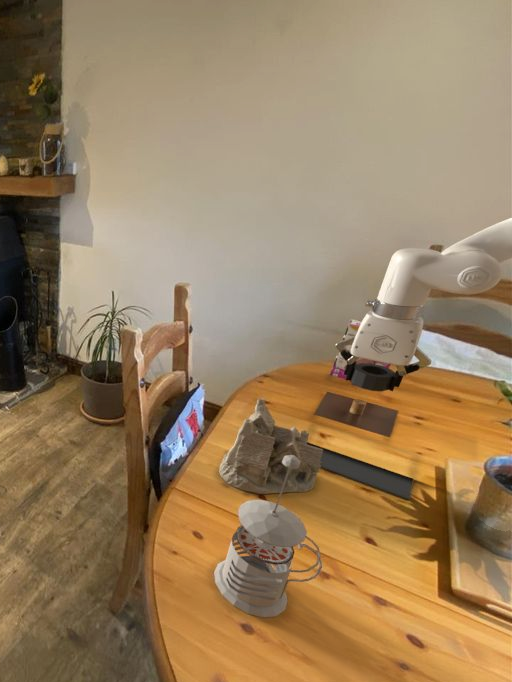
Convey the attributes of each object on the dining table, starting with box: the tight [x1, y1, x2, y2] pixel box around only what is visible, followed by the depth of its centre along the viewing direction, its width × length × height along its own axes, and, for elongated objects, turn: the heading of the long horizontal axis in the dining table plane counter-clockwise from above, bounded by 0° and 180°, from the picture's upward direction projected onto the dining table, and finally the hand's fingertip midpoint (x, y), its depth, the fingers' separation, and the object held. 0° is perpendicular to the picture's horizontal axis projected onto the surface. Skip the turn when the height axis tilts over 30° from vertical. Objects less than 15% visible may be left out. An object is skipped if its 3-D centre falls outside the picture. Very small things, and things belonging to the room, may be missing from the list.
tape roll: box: [349, 363, 396, 392], centre depth 94 cm, size 7×7×4 cm
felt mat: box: [307, 441, 414, 501], centre depth 87 cm, size 18×18×1 cm
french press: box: [213, 455, 323, 619], centre depth 57 cm, size 10×12×25 cm
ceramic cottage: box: [218, 397, 323, 495], centre depth 81 cm, size 16×16×15 cm
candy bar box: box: [329, 318, 392, 380], centre depth 110 cm, size 11×5×16 cm, turn 47°
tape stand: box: [313, 391, 399, 438], centre depth 99 cm, size 14×14×4 cm
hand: (369, 382), depth 95 cm, fingers closed on tape roll, 7 cm apart
